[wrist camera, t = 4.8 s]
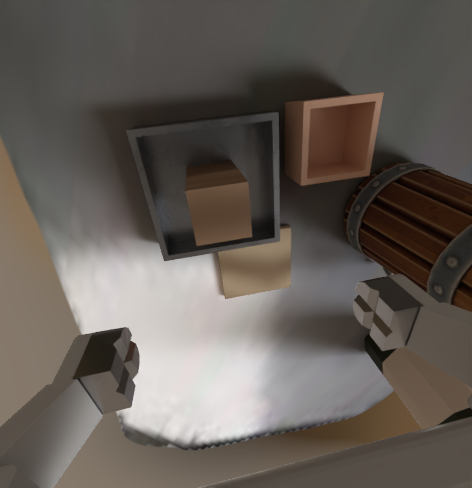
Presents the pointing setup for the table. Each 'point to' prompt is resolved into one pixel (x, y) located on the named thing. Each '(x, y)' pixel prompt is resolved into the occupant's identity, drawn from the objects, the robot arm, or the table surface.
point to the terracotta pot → (331, 137)
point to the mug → (416, 228)
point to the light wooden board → (257, 267)
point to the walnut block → (218, 202)
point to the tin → (200, 153)
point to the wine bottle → (422, 385)
